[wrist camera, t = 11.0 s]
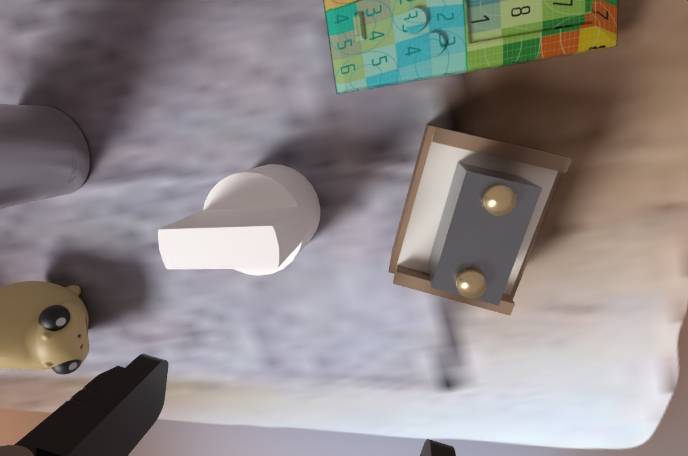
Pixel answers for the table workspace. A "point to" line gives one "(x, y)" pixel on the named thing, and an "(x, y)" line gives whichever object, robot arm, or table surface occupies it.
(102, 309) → the table surface
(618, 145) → the table surface
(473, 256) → the block
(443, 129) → the stand
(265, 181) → the cylinder with rectangular tab
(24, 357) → the tan toy hamster
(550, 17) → the puzzle game
